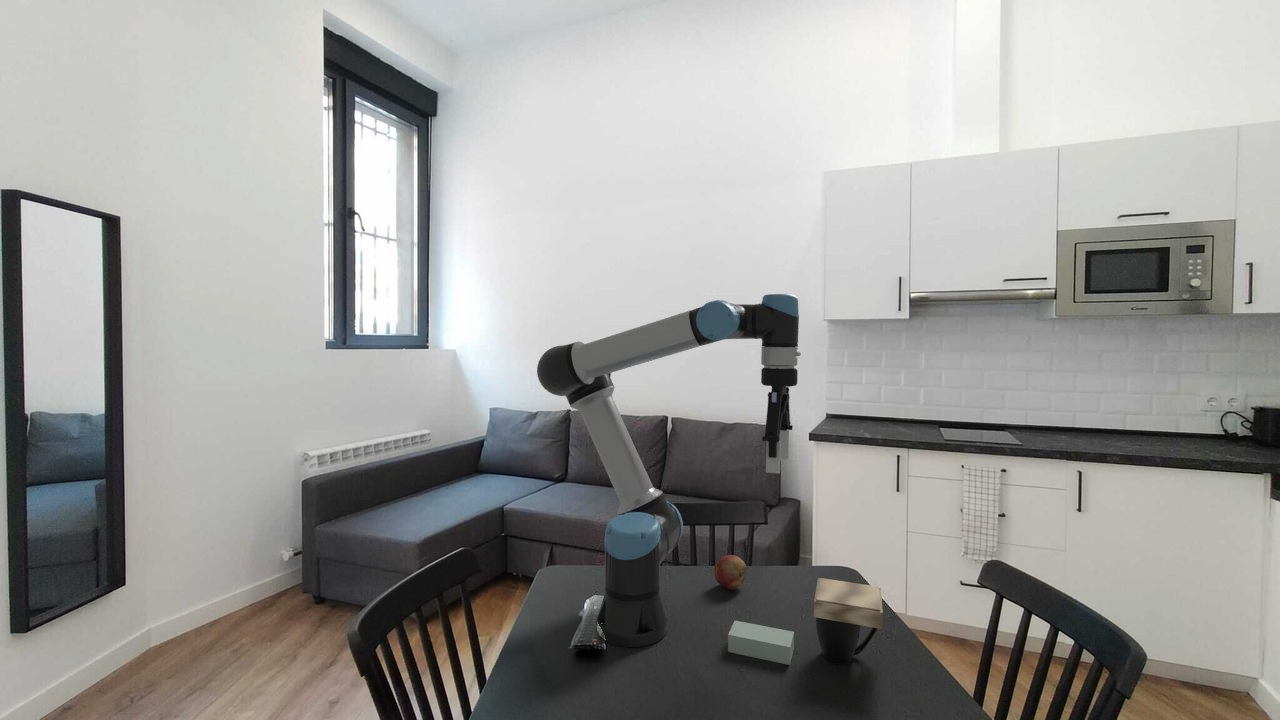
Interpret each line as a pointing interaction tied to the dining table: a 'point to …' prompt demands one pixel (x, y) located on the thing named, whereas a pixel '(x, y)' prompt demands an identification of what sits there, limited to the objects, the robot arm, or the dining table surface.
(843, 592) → the lid
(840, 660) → the mug
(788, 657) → the sage green box base
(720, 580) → the fruit
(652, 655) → the dining table surface
